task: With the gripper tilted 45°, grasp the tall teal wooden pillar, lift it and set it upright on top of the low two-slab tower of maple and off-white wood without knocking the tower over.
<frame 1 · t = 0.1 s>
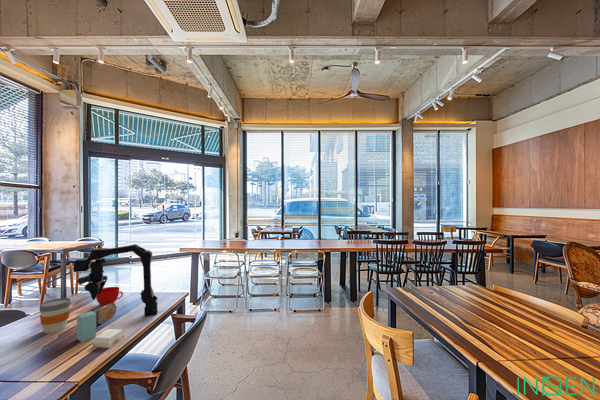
hand: (96, 296, 149), 15 cm above the table, tool pointing down, fingers open, 9 cm apart
tower base: (108, 343, 127), on the table, touching tower top
tin: (105, 321, 150), on the table
teal pillar: (86, 337, 131), on the table
ceramic cup: (110, 304, 174), on the table
tower top: (108, 338, 127), point 2 cm above the table, touching tower base
reusable coffee cup: (55, 329, 140), on the table
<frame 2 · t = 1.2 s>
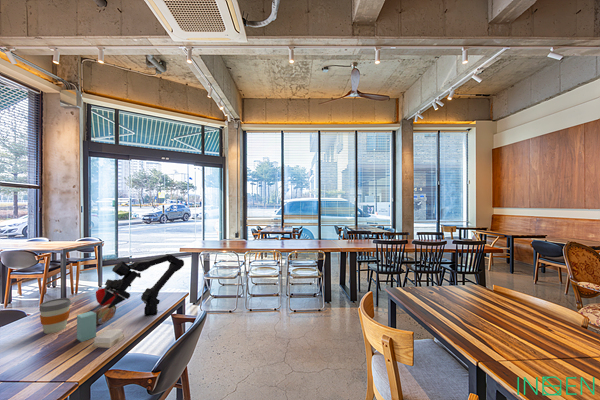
hand: (104, 306, 139), 13 cm above the table, tool tilted 45°, fingers open, 9 cm apart
tower base: (108, 343, 127), on the table
tower top: (108, 338, 127), point 2 cm above the table
everything else where it was.
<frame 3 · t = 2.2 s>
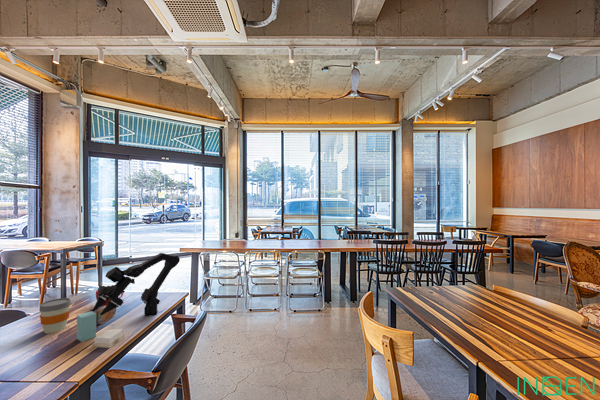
hand: (96, 313, 135), 11 cm above the table, tool tilted 45°, fingers open, 9 cm apart
tower base: (108, 343, 127), on the table, touching tower top
tower top: (108, 338, 127), point 2 cm above the table, touching tower base
everything else where it was.
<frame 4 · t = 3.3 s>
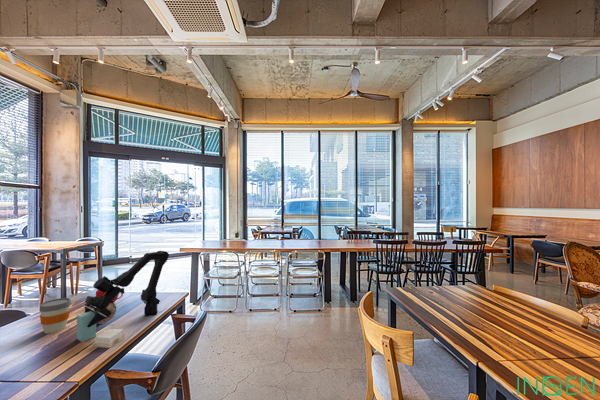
hand: (83, 324, 130), 7 cm above the table, tool tilted 45°, fingers open, 9 cm apart
nothing on the table moved.
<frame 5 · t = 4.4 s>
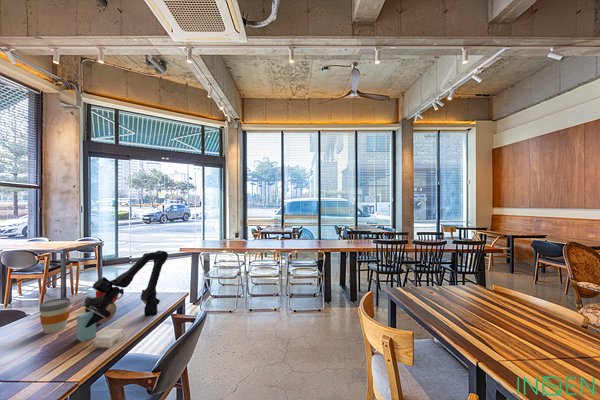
hand: (83, 325, 130), 7 cm above the table, tool tilted 45°, fingers closed on teal pillar, 6 cm apart
teal pillar: (86, 337, 131), on the table, touching gripper
everything else where it was.
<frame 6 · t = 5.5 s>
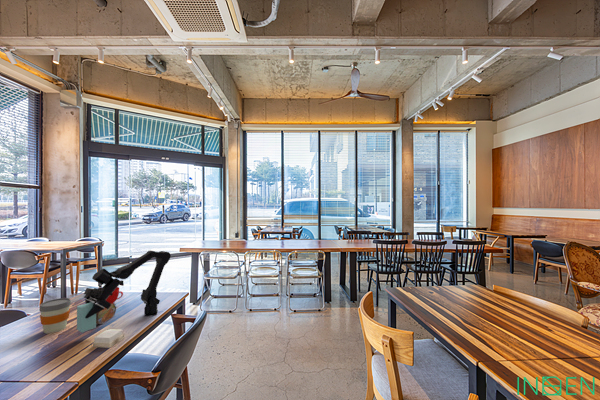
hand: (83, 316, 130), 11 cm above the table, tool tilted 45°, fingers closed on teal pillar, 6 cm apart
teal pillar: (86, 328, 131), point 5 cm above the table, touching gripper
everything else where it was.
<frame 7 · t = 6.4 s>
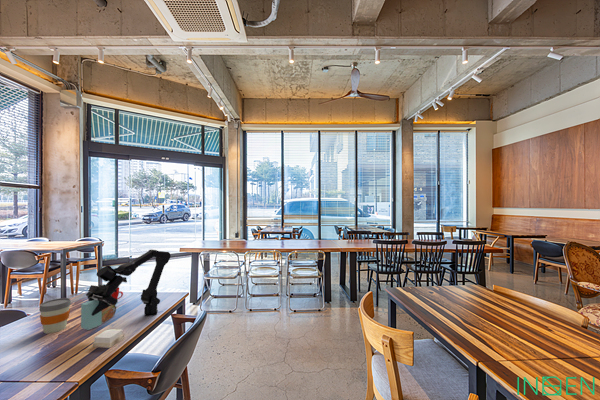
hand: (88, 314, 128), 13 cm above the table, tool tilted 45°, fingers closed on teal pillar, 6 cm apart
teal pillar: (91, 326, 129), point 7 cm above the table, touching gripper
everything else where it was.
when the fingers open (12 cm above the table, at t = 8.8 s): teal pillar drops 1 cm, resting on tower top.
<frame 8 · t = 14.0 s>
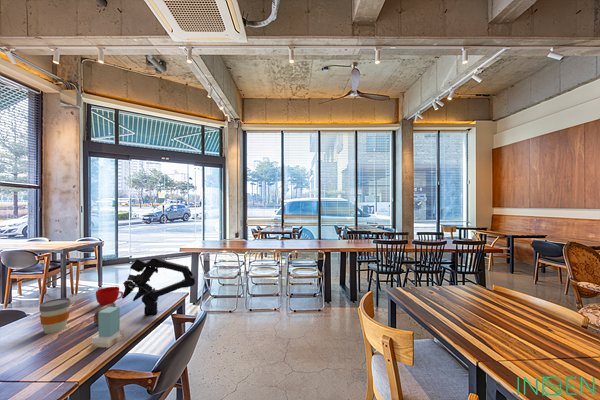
hand: (127, 299, 148), 14 cm above the table, tool tilted 45°, fingers open, 9 cm apart
teal pillar: (109, 333, 127), point 4 cm above the table, touching tower top
tower top: (106, 338, 127), point 2 cm above the table, touching teal pillar, tower base
everything else where it was.
at the end: teal pillar 1.6 cm off-centre on the tower top, point 3.0 cm above the tower top's base; teal pillar tilted 11°; tower top 0.6 cm off-centre on the tower base, point 2.5 cm above the tower base's base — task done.
